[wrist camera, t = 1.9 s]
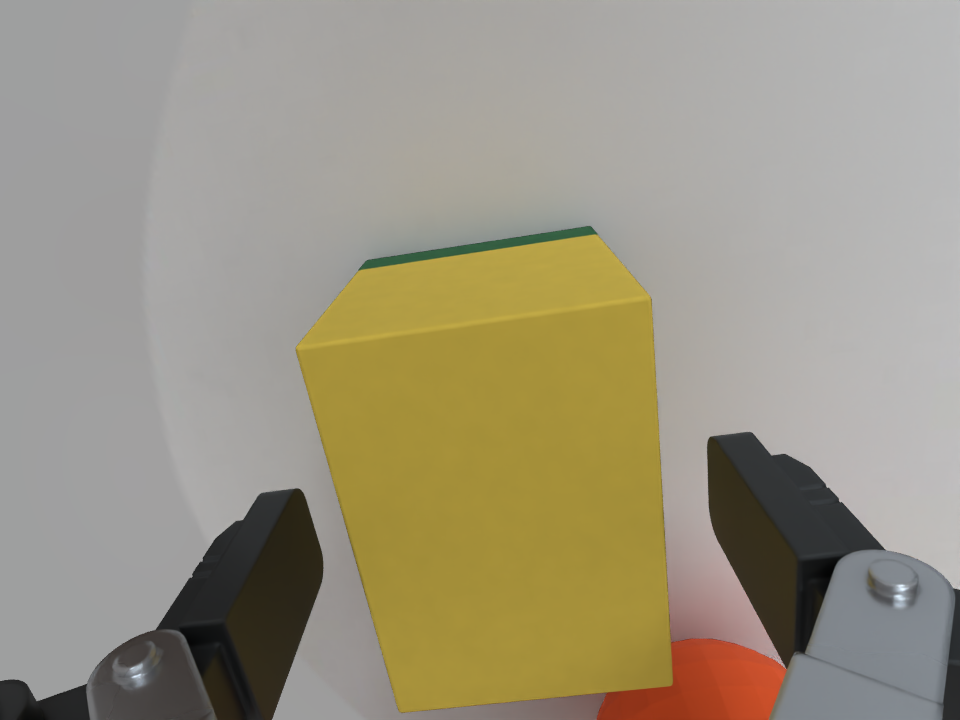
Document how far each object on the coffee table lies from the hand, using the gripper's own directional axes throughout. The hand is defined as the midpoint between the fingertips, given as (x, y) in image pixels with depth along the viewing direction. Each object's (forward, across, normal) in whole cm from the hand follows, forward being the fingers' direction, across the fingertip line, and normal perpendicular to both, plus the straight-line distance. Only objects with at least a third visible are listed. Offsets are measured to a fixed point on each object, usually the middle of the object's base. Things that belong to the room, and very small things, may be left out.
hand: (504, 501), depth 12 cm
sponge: (+5, 0, 0) cm, 5 cm away
